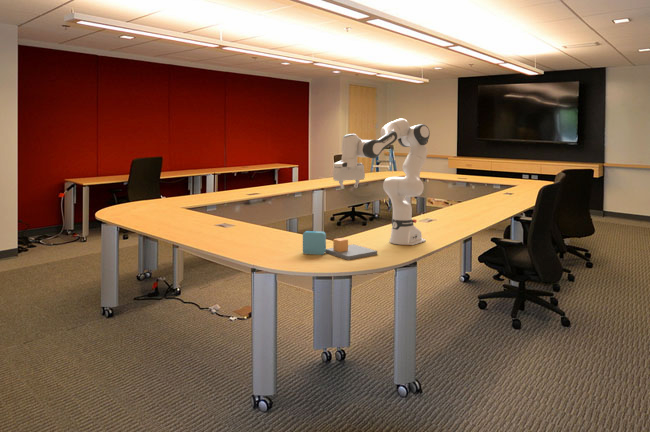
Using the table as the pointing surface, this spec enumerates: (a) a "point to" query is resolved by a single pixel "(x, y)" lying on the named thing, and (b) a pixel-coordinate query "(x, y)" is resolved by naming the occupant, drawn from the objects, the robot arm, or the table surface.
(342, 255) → the board
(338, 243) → the orange cube
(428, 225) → the table surface
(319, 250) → the data package
